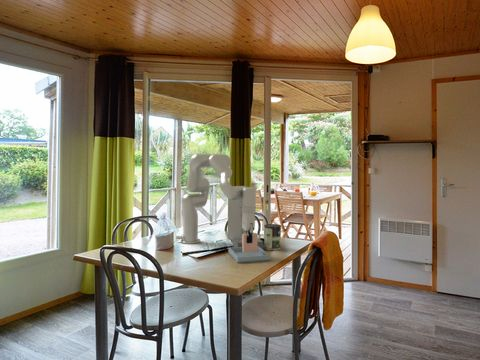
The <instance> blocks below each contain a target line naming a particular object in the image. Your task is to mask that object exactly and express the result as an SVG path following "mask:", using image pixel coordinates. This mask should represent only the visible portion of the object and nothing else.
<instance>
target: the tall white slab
mask: <svg viewBox="0 0 480 360" xmlns="http://www.w3.org/2000/svg"><path fill="white" fill-rule="evenodd" d="M227 199H228V198H227ZM227 203H228V204H227V208H228V209H227V240H230V241H233V238H242V234H245V230H244V229H243V228H242V216H243V212H242V199H237V200H230V199H228V200H227Z"/></svg>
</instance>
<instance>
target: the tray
mask: <svg viewBox="0 0 480 360" xmlns="http://www.w3.org/2000/svg"><path fill="white" fill-rule="evenodd" d="M228 254H229V255H230V256H231V257H232V259H233V260H234V261H235V262H236V263H237V264H241V263H243V264H244V263H255V262H258V263H259V262H269V261H271V254H269V253H268V252H266V251H265V250H264V249H263V250H262V249H261V248H260V247H259V246H258V252H249V253H243V252H242V247H228Z"/></svg>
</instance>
